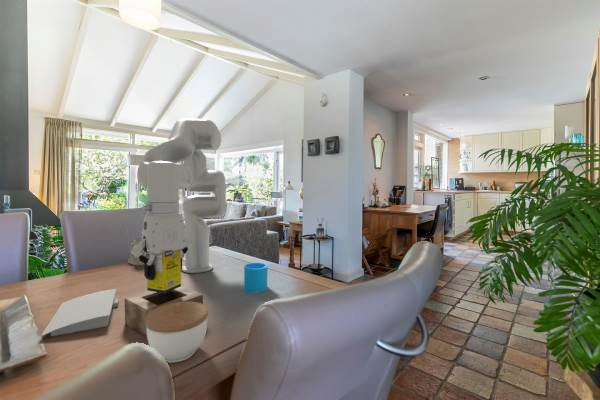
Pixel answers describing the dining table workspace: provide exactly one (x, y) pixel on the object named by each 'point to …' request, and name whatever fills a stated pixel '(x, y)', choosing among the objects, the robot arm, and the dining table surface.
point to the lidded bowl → (177, 329)
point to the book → (83, 313)
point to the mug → (255, 277)
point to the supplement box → (166, 272)
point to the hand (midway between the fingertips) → (164, 274)
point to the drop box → (154, 305)
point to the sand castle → (132, 258)
